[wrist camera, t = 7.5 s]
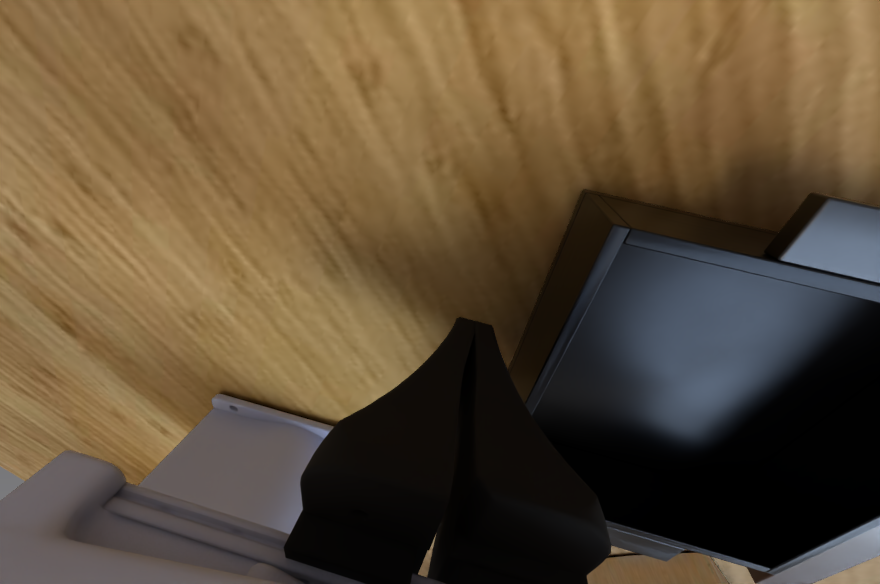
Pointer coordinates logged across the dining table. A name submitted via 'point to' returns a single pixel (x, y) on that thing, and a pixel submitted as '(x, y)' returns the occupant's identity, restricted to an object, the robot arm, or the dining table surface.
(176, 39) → the dining table surface
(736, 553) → the roasting tin
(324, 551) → the robot arm
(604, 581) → the sandwich container
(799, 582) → the back rail
